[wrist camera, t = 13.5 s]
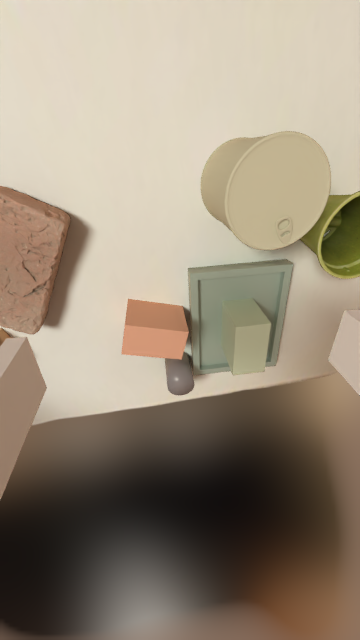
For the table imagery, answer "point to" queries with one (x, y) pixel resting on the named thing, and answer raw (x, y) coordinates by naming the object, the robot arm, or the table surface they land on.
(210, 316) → the tray
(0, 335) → the oak block
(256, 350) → the sage block
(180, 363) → the grey canister
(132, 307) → the terracotta block
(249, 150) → the can
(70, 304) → the table surface
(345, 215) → the plant pot
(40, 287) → the brick
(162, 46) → the table surface
